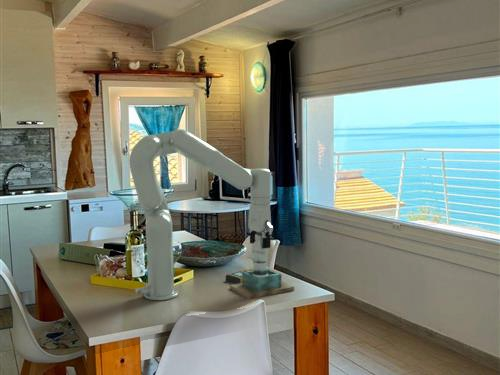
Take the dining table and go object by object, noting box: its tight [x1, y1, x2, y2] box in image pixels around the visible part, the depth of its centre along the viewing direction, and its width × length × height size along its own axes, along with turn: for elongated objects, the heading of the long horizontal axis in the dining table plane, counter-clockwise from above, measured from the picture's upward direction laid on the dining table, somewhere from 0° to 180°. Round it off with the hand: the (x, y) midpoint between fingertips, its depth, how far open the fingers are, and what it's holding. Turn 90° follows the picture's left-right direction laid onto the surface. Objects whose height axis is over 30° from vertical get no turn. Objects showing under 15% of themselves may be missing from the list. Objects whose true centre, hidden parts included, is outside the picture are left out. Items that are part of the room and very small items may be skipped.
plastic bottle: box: [250, 233, 269, 277], centre depth 211 cm, size 6×7×20 cm
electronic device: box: [225, 267, 253, 284], centre depth 227 cm, size 8×16×3 cm, turn 134°
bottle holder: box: [229, 268, 295, 300], centre depth 211 cm, size 20×15×6 cm
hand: (259, 245), depth 210 cm, fingers open, 9 cm apart
